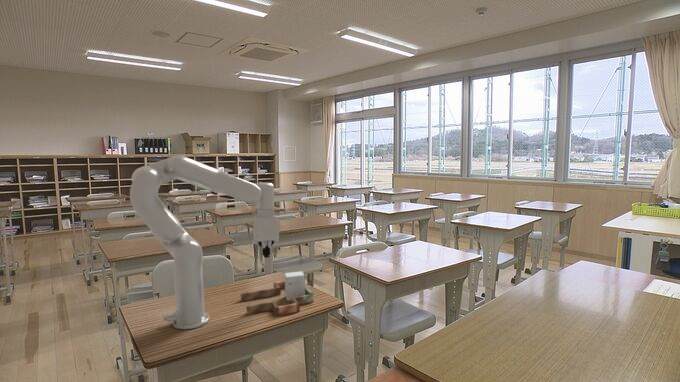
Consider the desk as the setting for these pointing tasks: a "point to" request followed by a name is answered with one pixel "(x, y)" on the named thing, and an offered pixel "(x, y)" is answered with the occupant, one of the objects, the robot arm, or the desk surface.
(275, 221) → the robot arm
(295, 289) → the small box
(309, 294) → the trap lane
